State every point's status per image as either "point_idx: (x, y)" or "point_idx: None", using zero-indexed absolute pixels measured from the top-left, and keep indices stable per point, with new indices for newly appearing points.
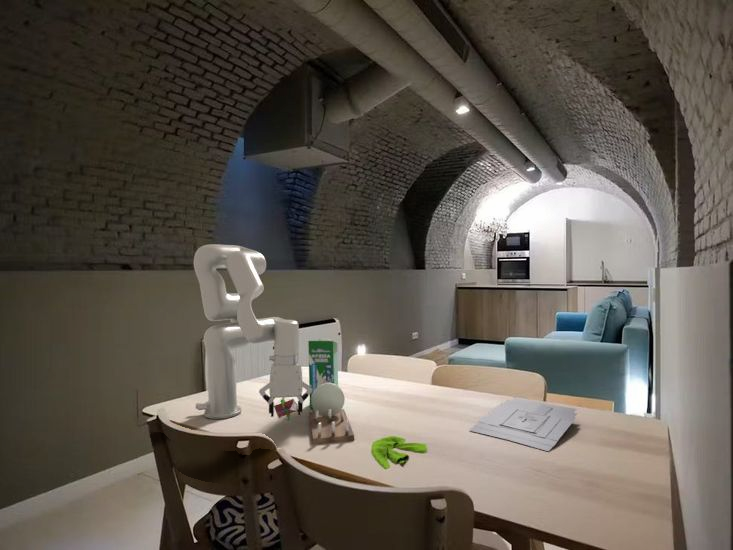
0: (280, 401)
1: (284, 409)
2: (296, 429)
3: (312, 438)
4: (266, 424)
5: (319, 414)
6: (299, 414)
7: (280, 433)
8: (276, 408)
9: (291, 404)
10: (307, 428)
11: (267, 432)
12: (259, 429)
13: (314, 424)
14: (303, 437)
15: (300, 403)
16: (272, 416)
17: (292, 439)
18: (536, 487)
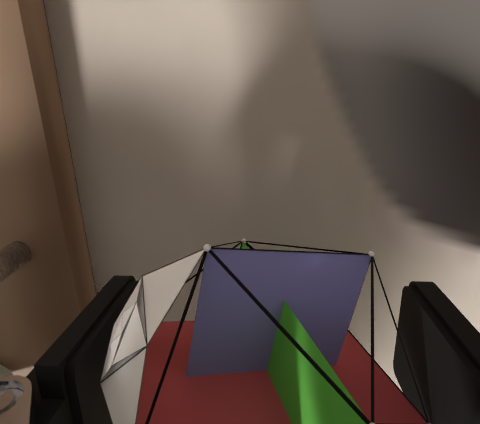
0: (373, 417)
1: (284, 322)
2: (190, 243)
3: (46, 20)
4: None
5: (7, 374)
6: (120, 278)
7: (307, 191)
8: (383, 392)
9: (172, 348)
10: (112, 245)
11: (403, 231)
12: (455, 299)
13: (38, 231)
14: (124, 65)
15: (47, 385)
16: (415, 282)
17: (210, 37)
18: None
